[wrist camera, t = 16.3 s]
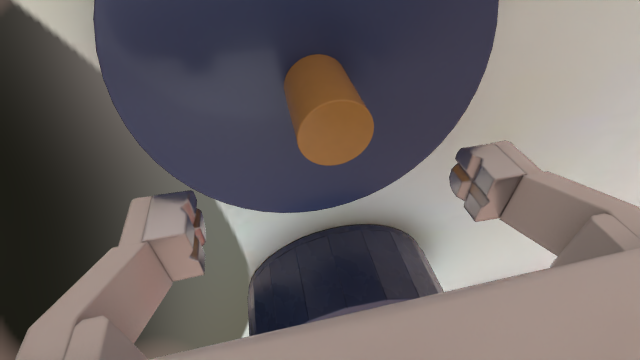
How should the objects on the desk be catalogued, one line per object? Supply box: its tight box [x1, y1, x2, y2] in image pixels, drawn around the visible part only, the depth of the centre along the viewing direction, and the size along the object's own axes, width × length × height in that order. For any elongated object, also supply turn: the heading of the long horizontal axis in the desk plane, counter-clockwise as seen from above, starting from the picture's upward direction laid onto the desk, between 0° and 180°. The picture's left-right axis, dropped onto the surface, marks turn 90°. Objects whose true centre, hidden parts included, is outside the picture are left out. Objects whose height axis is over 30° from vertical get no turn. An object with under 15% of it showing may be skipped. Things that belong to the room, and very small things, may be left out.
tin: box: [248, 225, 444, 336], centre depth 25 cm, size 14×14×6 cm
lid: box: [93, 0, 499, 213], centre depth 12 cm, size 15×15×5 cm
